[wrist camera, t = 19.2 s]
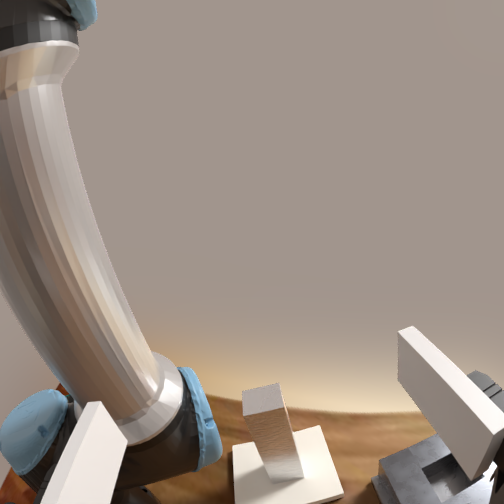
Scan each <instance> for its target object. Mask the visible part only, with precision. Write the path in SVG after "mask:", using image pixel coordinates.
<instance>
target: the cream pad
mask: <svg viewBox="0 0 504 504" xmlns="http://www.w3.org/2000/svg"><path fill="white" fill-rule="evenodd" d="M293 433H294V437H295V440H296V444H297V447H298V451H299V454H300V458H301V463H302V467H303V472H304V476H305V478H301V479H297V480H293V481H288V482H283V483H278V484H272V482H271V479H270V477H269V475H268V473H267V471H266V468H265V466H264V464H263V462H262V459H261V457H260V455H259V453H258V450H257V448H256V446H255V443H254V442H250V443H245V444H239V445H234V446H233V470H234V492H235V504H321V503H325V502H328V501H332V500H335V499H338V498H342V497H344V492H343V489H342V486H341V484H340V481H339V478H338V475H337V472H336V470H335V467H334V464H333V461H332V458H331V456H330V453H329V450H328V447H327V444H326V442H325V439H324V436H323V433H322V430H321V428H320V425H318V426H315V427H311V428H308V429H304V430H301V431H297V432H293Z"/></svg>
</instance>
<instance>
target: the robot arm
mask: <svg viewBox="0 0 504 504" xmlns="http://www.w3.org/2000/svg"><path fill="white" fill-rule="evenodd" d="M96 20H97V9H96V3H95V0H0V292H1V294H2V296H3V298H4V299H5V301H6V303H7V305H8V307H9V308H10V310H11V312H12V313H13V315H14V317H15V318H16V320H17V322H18V323H19V325H20V326H21V328H22V330H23V331H24V333H25V334H26V336H27V337H28V339H29V340H30V342H31V343H32V345H33V346H34V348H35V349H36V350H37V352H38V353H39V355H40V356H41V358H42V359H43V360H44V362H45V363H46V365H47V366H48V367H49V369H50V370H51V371H52V373H53V374H54V375H55V376H56V378H57V379H58V380H59V381H60V383H61V384H62V385H63V386H64V388H65V389H66V390H67V391H68V393H69V394H70V395H71V396H72V397H73V399H74V403H68V401H67V399H66V397H65V396H64V395H62V394H61V393H60V392H59V391H56V390H52V389H48V390H43V391H40V392H38V393H35V394H33V395H31V396H30V397H28V398H27V399H25V400H24V401H22V402H21V403H20V404H19V405H18V406H17V407H15V409H14V410H13V411H12V412H11V413H10V414H9V415H8V416H7V418H6V419H5V421H4V422H3V424H2V426H1V429H0V451H1V453H2V454H3V456H4V457H5V459H6V460H7V461H8V462H9V464H10V465H11V466H12V467H13V470H14V471H15V473H16V474H17V475H19V476H20V477H21V478H22V479H23V480H24V481H25V482H26V483H27V484H28V485H29V486H30V487H31V488H32V489H33V490H34V491H35V492H36V493H37V496H36V498H35V500H34V503H33V504H161V503H160V501H159V500H158V499H157V498H156V497H155V496H154V494H153V493H152V492H151V491H150V490H149V489H147V488H146V487H145V486H143V485H147V484H151V483H155V482H159V481H162V480H166V479H169V478H173V477H176V476H179V475H182V474H185V473H189V472H197V471H199V470H200V469H201V468H202V467H205V466H207V465H210V464H212V463H214V462H216V461H217V460H219V458H220V457H221V455H222V443H221V439H220V436H219V432H218V429H217V427H216V424H215V422H214V420H213V416H212V413H211V409H210V406H209V404H208V401H207V399H206V396H205V394H204V391H203V389H202V386H201V384H200V382H199V380H198V378H197V376H196V374H195V372H194V371H193V369H191V368H189V367H183V368H181V367H177V368H176V367H175V365H174V364H173V363H172V362H171V361H170V360H169V359H167V358H166V357H165V356H163V355H161V354H158V353H156V352H152V351H150V349H149V347H148V345H147V343H146V341H145V339H144V337H143V335H142V333H141V331H140V328H139V326H138V324H137V322H136V320H135V318H134V315H133V313H132V311H131V309H130V307H129V304H128V302H127V300H126V297H125V295H124V293H123V291H122V288H121V286H120V283H119V281H118V279H117V276H116V274H115V271H114V269H113V266H112V264H111V261H110V259H109V256H108V253H107V251H106V248H105V245H104V243H103V240H102V237H101V234H100V232H99V229H98V226H97V223H96V220H95V217H94V214H93V211H92V208H91V205H90V202H89V199H88V196H87V192H86V189H85V186H84V183H83V179H82V175H81V172H80V168H79V165H78V161H77V157H76V153H75V150H74V146H73V142H72V137H71V133H70V129H69V125H68V120H67V116H66V111H65V106H64V101H63V95H62V90H61V85H62V82H63V79H64V77H65V76H66V74H67V72H68V71H69V69H70V68H71V66H72V65H73V64H74V62H75V61H76V59H77V58H78V56H79V45H78V37H77V30H79V31H82V30H85V29H87V27H88V26H90V25H91V24H94V23H95V21H96ZM398 381H399V382H400V384H401V385H402V386H403V388H404V389H405V390H406V392H407V393H408V394H409V396H410V397H411V398H412V400H413V401H414V402H415V404H416V405H417V406H418V408H419V409H420V410H421V412H422V413H423V414H424V416H425V417H426V419H427V420H428V421H429V423H430V424H431V425H432V427H433V428H434V429H435V431H436V432H437V434H438V435H439V436H440V438H441V439H442V441H443V442H444V443H445V445H446V446H447V447H448V449H449V450H450V452H451V453H452V455H453V456H454V457H455V459H456V460H457V462H458V463H459V464H460V466H461V467H462V469H463V470H464V472H465V473H466V475H467V476H468V477H469V479H470V480H471V481H472V480H474V479H475V478H477V477H478V476H480V475H481V474H483V473H484V472H486V471H487V470H488V469H489V467H490V465H491V464H492V462H494V463H495V464H496V466H497V467H496V469H495V471H494V472H493V474H492V476H491V478H490V480H489V482H492V480H493V479H494V482H493V487H492V492H491V497H490V502H489V504H504V390H503V391H502V388H501V387H499V386H498V385H497V384H495V382H494V381H493V380H492V379H491V378H490V377H489V376H487V375H486V374H483V373H481V372H478V371H474V372H472V373H470V374H468V375H467V376H466V375H465V374H464V373H463V372H462V371H461V370H460V369H459V368H458V367H457V366H456V365H455V364H454V363H452V361H450V360H449V359H448V358H447V357H446V356H445V355H444V354H443V353H442V352H441V351H440V350H439V349H438V348H437V347H435V346H434V345H433V344H432V343H431V342H430V341H429V340H428V339H427V338H426V337H425V336H424V335H423V334H421V333H420V332H419V331H418V330H417V329H416V328H415V327H414V326H410V327H408V328H406V329H403V330H400V331H398ZM5 504H15V503H12V502H8V503H5Z"/></svg>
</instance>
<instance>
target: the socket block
mask: <svg viewBox="0 0 504 504" xmlns="http://www.w3.org/2000/svg"><path fill="white" fill-rule="evenodd" d="M496 467H497V466H496V464H495V463H494V462H492V464H491V465H490V467H489V469H488V470H487V471H486V472H484V473H483V474H481V475H480V476H478V477H477V478H475V479H474V480H472V481H471V480H470V479H469V477H468V476H467V475H466V473H465V472H464V470H463V469H462V467H461V466H460V464H459V463H458V462H457V460H456V459H455V457H454V456H453V455H452V453H451V452H450V450H449V449H448V447H447V446H446V445H445V443H444V442H443V441H442V439H441V438H440V436H439V435H438V434H435V435H433V436H431V437H429V438H427V439H425V440H423V441H421V442H419V443H417V444H415V445H413V446H410V447H408V448H406V449H404V450H402V451H399V452H397V453H395V454H392V455H390V456H388V457H385V458H383V459H380V460H379V472H378V475H377V476H375V477H372V478H371V482H372V484H373V487H374V489H375V491H376V493H377V496H378V498H379V500H380V503H381V504H489V502H490V497H491V492H492V487H493V482H494V479H493V480H492V482H489V480H490V478H491V476H492V474H493V472H494V471H495V469H496Z"/></svg>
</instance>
